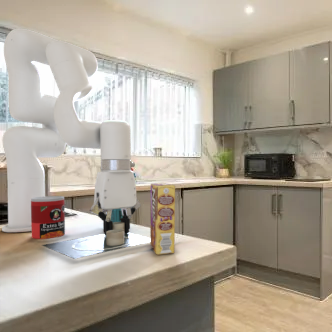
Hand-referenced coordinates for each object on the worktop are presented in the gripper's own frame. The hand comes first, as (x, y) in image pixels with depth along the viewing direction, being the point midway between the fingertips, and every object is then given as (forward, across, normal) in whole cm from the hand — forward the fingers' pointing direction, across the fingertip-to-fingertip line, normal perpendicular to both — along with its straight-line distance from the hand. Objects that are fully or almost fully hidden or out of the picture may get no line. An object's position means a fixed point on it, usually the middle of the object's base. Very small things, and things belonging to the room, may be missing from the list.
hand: (117, 233), depth 88 cm
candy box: (+1, 0, +20) cm, 20 cm away
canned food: (+1, +12, -14) cm, 18 cm away
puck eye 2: (0, +5, +9) cm, 11 cm away
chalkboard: (+1, +7, +5) cm, 9 cm away
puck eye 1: (0, 0, 0) cm, 0 cm away
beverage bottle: (+1, -5, -10) cm, 11 cm away
